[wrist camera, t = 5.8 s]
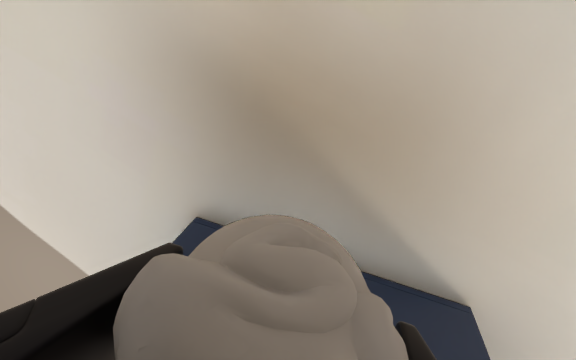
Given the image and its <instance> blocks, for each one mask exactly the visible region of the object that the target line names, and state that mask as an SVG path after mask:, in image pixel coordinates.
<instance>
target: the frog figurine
mask: <svg viewBox="0 0 576 360" xmlns="http://www.w3.org/2000/svg"><path fill="white" fill-rule="evenodd" d="M113 336H114V350H115V359H116V360H409V359H408V355H407V351H406V346H405V343H404V341H403V339H402V337H401V336H400V334H399V333H398V331H397V330H396V329H395V327H394V325H393V315H392V313H391V310H390V308H389V307H388V305H387V304H386V303H385V302H384V301H383V299H382V298H380V297H378V296H376V295H374V294H372V293H371V292H370V290H369V289H368V287H367V284H366V282H365V280H364V277H363V275H362V273H361V271H360V269H359V268H358V266H357V264H356V263H355V261H354V259H353V258H352V257H351V255H350V254H349V253H348V252H347V250H346V249H345V248H344V247H343V246H342V245H341V244H340V243H339V242H338V241H337V240H336V239H335V238H333V237H332V236H330V235H329V234H328V233H326V232H325V231H324V230H322V229H320V228H318V227H317V226H315V225H313V224H311V223H308V222H306V221H304V220H301V219H297V218H293V217H288V216H282V215H260V216H254V217H248V218H244V219H241V220H238V221H235V222H233V223H230V224H228V225H226V226H224V227H222V228H221V229H219V230H217V231H216V232H214V233H213V234H211V235H210V236H209V237H207V238H206V239H205V240H204V241H203V242H202V243H200V244H199V245H198V246H197V247H196V248H195V250H194V251H193V252H192V253H191V254H190V255H189V256H184V255H180V254H174V253H171V254H162V255H158V256H155V257H153V258H152V259H151V260H150V261H149V262H148V263H147V264H146V265H145V266H144V267H143V268H142V270H141V271H140V272H139V273H138V274H137V276H136V277H135V278H134V280H133V281H132V283H131V284H130V286H129V287H128V289H127V290H126V292H125V293H124V295H123V298H122V301H121V303H120V306H119V309H118V312H117V314H116V317H115V322H114V326H113Z"/></svg>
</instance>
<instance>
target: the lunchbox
mask: <svg viewBox="0 0 576 360" xmlns="http://www.w3.org/2000/svg"><path fill="white" fill-rule="evenodd" d="M222 227H224V226H222V225H219V224H216V223H213V222H210V221H207V220H204V219H201V218H198V217H196V218H195V219H194V220H193V222H191V223H190V224H189V226H188V227H187V228H186V229H185V230H184V231H183V232H182V233H181V234H180V235H179V236H178V237H177V238H176V240H175V241H174V242H173V244H176V245H179V246H181V247H182V248H183V255H184V256H189V255H190V254H191V253H192V252H193V251H194V250H195V248H196V247H197V246H198V245H199V244H200V243H202V242H203V241H204V240H205V239H206V238H207V237H209V236H210V235H211V234H213V233H214V232H216V231H217V230H219V229H221V228H222ZM361 273H362V275H363V277H364V280H365V282H366V284H367V287H368V289H369V290H370V292H371V293H372V294H374V295H376V296H378V297H380V298H382V299H383V301H384V302H385V303H386V304H387V305H388V307H389V308H390V310H391V313H392V315H393V325H394V327H395V326H396V324H397V323H398V322H400V321H402V322H405V323H408V324H411V325H414V326H415V327H416V328H417V330H418V331H419V333H420V334H421V336H422V338H423V339H424V341H425V342H426V344H427V345H428V347H429V348H430V350H431V351H432V353H433V355H434V356H435V358H436V359H437V360H490V357H489V355H488V352H487V349H486V347H485V344H484V342H483V339H482V336H481V334H480V331H479V329H478V326H477V323H476V321H475V318H474V316H473V313H472V311H471V308H470V307H468V306H465V305H462V304H459V303H456V302H452V301H449V300H446V299H443V298H440V297H437V296H434V295H431V294H428V293H425V292H422V291H419V290H416V289H413V288H410V287H407V286H404V285H401V284H398V283H395V282H392V281H389V280H386V279H383V278H380V277H377V276H374V275H371V274H368V273H364V272H361Z"/></svg>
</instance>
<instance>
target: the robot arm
mask: <svg viewBox="0 0 576 360" xmlns="http://www.w3.org/2000/svg"><path fill="white" fill-rule="evenodd" d="M171 253H174V254H180V255H183V248H182V247H181V246H179V245H176V244H173V243H167V244H165V245H162V246H160V247H157V248H155V249H153V250H150V251H148V252H145V253H143V254H141V255H138V256H136V257H133V258H131V259H129V260H126V261H124V262H122V263H119V264H117V265H114V266H112V267H110V268H107V269H105V270H102V271H100V272H98V273H95V274H93V275H90V276H88V277H86V278H83V279H81V280H78V281H76V282H74V283H71V284H69V285H67V286H64V287H62V288H59V289H57V290H55V291H52V292H50V293H48V294H45V295H43V296H40V297H38V298H37V299H36V300H35V299H33V300H31V301H28V302H26V303H24V304H21V305H18V306H16V307H14V308H11V309H9V310H6V311H4V312H1V313H0V360H116V359H115V350H114V336H113V326H114V322H115V317H116V314H117V312H118V309H119V306H120V303H121V301H122V298H123V295H124V293H125V292H126V290H127V289H128V287H129V286H130V284H131V283H132V281H133V280H134V278H135V277H136V276H137V274H138V273H139V272H140V271H141V270H142V268H143V267H144V266H145V265H146V264H147V263H148V262H149V261H150V260H151V259H152V258H153V257H155V256H158V255H162V254H171ZM395 329H396V330H397V331H398V333H399V334H400V336H401V337H402V339H403V341H404V343H405V346H406V351H407V355H408V359H409V360H437V359H436V358H435V356H434V355H433V353H432V351H431V350H430V348H429V347H428V345H427V344H426V342H425V341H424V339H423V338H422V336H421V334H420V333H419V331H418V330H417V328H416V327H415V326H414V325H411V324H408V323H405V322H402V321H400V322H398V323H397V324H396V326H395Z"/></svg>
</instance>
